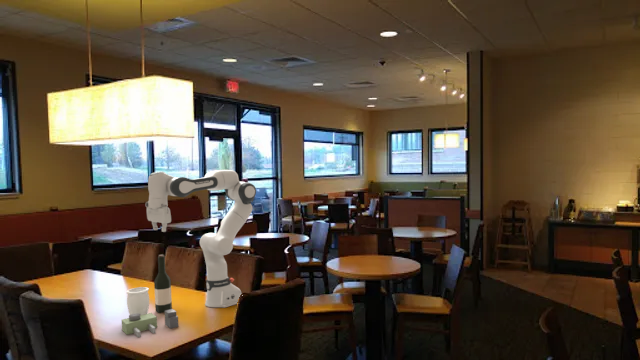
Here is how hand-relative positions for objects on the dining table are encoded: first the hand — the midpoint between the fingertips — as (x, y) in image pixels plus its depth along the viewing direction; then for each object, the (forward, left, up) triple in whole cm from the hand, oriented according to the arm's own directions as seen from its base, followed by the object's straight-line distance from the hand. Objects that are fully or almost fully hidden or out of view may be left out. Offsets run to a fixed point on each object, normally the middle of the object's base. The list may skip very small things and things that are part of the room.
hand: (159, 230), depth 227 cm
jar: (+10, -7, -45) cm, 47 cm away
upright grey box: (+1, +15, -45) cm, 47 cm away
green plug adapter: (+14, +11, -45) cm, 48 cm away
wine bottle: (-4, -11, -45) cm, 46 cm away
